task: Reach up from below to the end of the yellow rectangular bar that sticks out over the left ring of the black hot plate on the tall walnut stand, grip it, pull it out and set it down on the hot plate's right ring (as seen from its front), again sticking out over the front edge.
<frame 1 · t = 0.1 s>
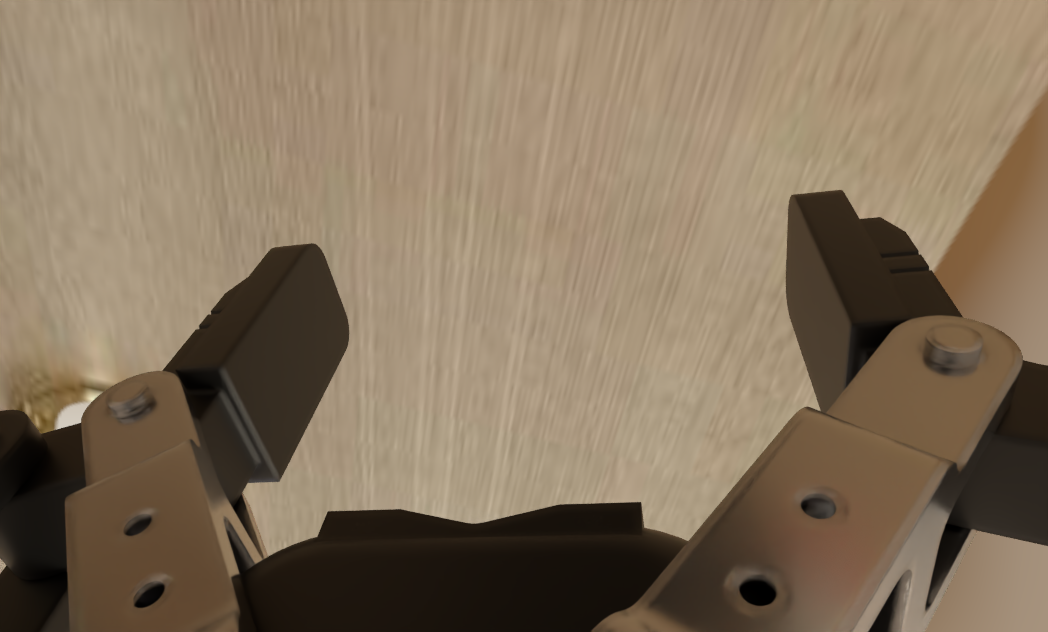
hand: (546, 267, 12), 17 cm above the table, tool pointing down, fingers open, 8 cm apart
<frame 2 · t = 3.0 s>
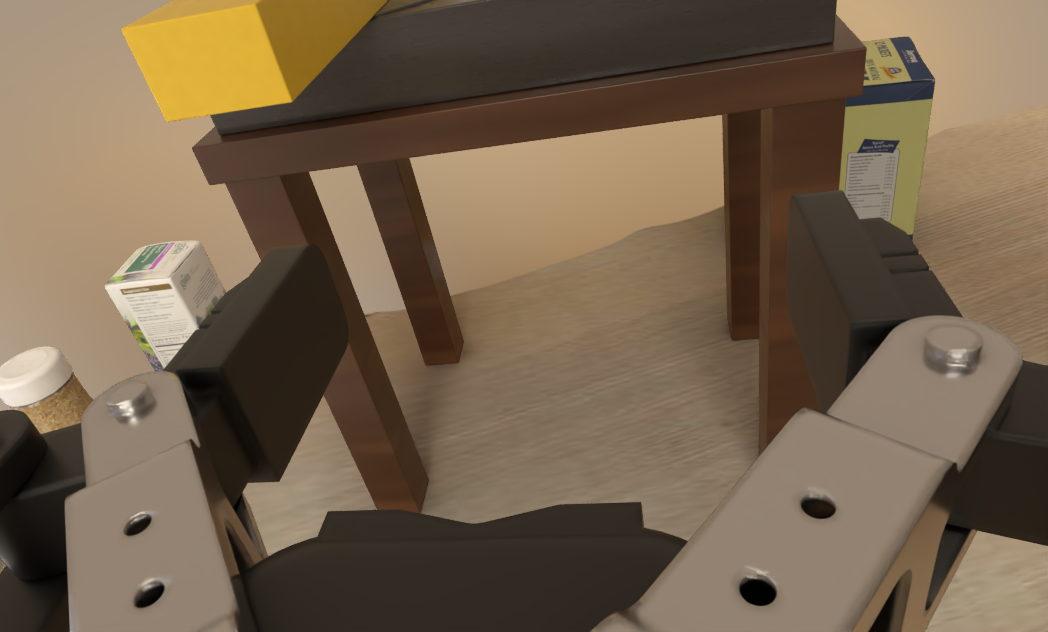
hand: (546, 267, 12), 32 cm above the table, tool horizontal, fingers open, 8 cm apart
yellow rectangular bar: (348, 3, 34), point 32 cm above the table, touching hob stand
hob stand: (588, 406, 56), on the table
sprinkles bottle: (123, 493, 58), on the table
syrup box: (228, 396, 66), on the table
protein box: (814, 226, 70), on the table
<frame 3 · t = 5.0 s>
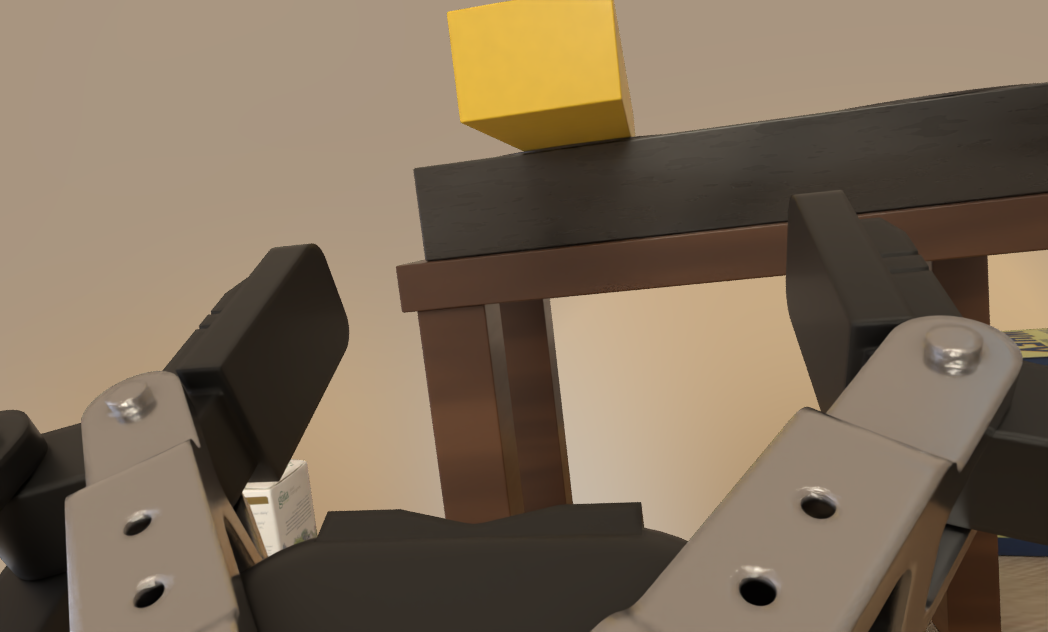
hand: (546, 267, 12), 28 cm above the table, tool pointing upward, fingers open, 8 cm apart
yellow rectangular bar: (583, 150, 33), point 32 cm above the table, touching hob stand
protein box: (998, 530, 60), on the table
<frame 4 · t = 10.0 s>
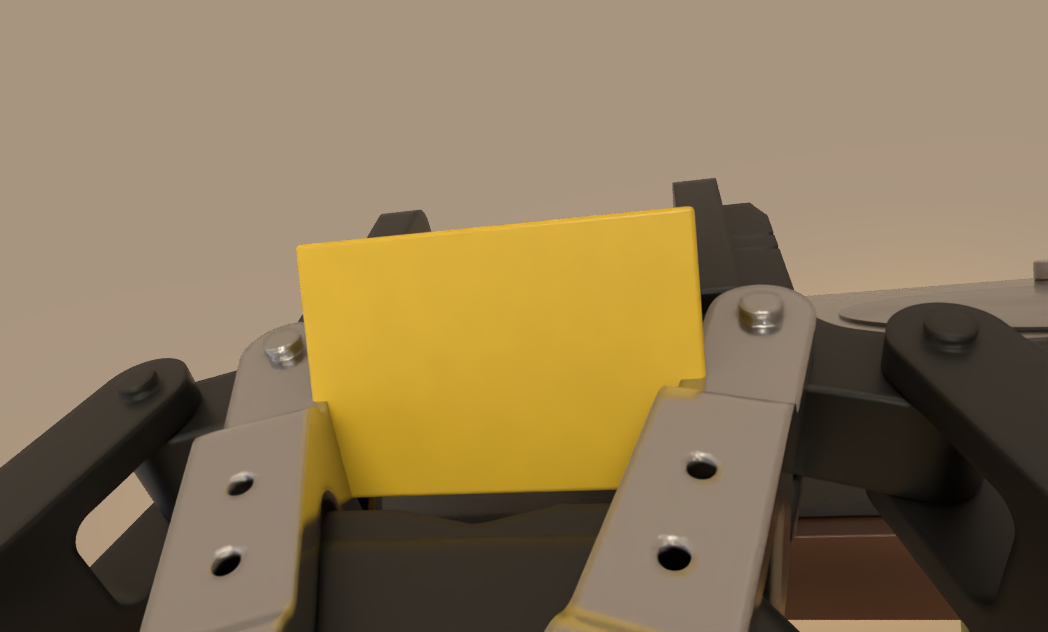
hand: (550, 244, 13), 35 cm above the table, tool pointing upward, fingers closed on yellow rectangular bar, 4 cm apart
yellow rectangular bar: (599, 344, 21), point 32 cm above the table, touching gripper, hob stand
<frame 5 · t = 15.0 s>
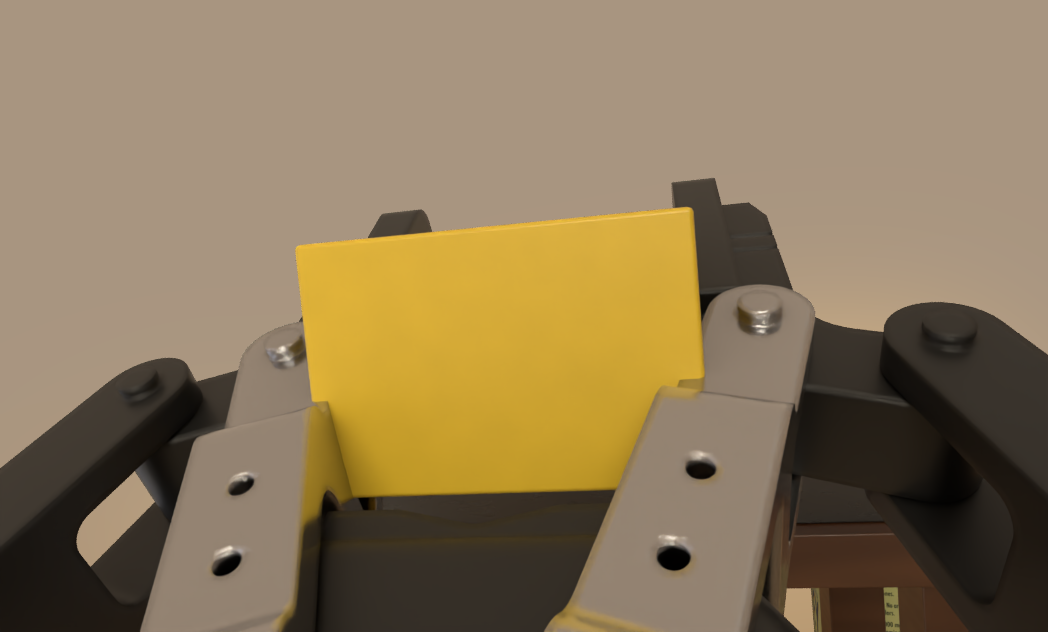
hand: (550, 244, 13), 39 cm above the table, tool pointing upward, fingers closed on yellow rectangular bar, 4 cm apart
yellow rectangular bar: (598, 344, 21), point 36 cm above the table, touching gripper
when the fingers open (35 cm above the table, at t = 20.2 s): yellow rectangular bar stays where it is, resting on hob stand.
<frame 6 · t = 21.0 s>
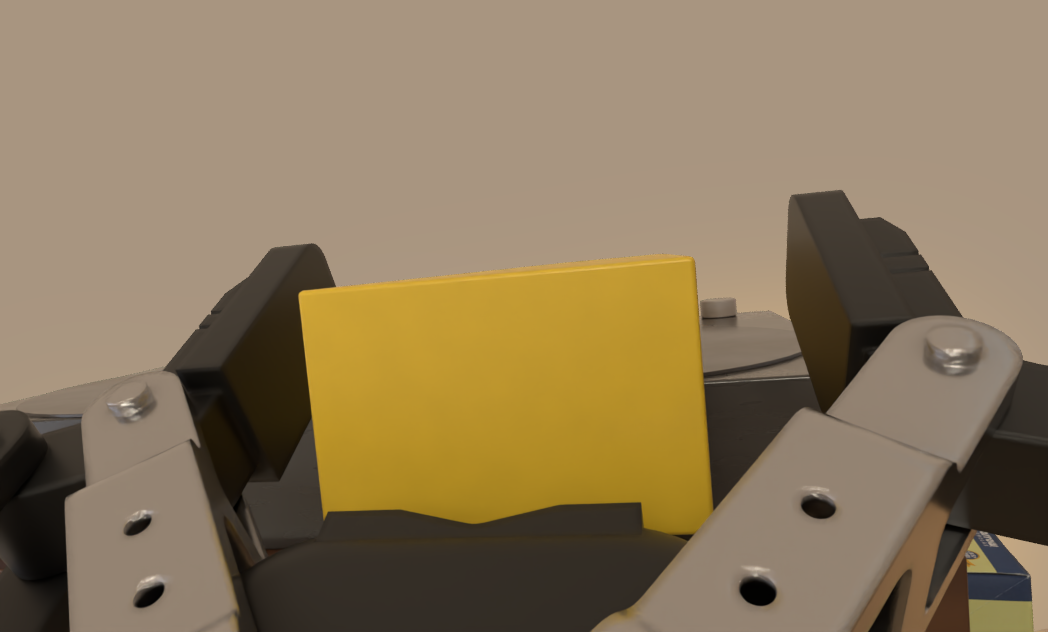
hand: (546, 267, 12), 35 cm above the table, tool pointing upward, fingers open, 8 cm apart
yellow rectangular bar: (599, 362, 21), point 32 cm above the table, touching hob stand
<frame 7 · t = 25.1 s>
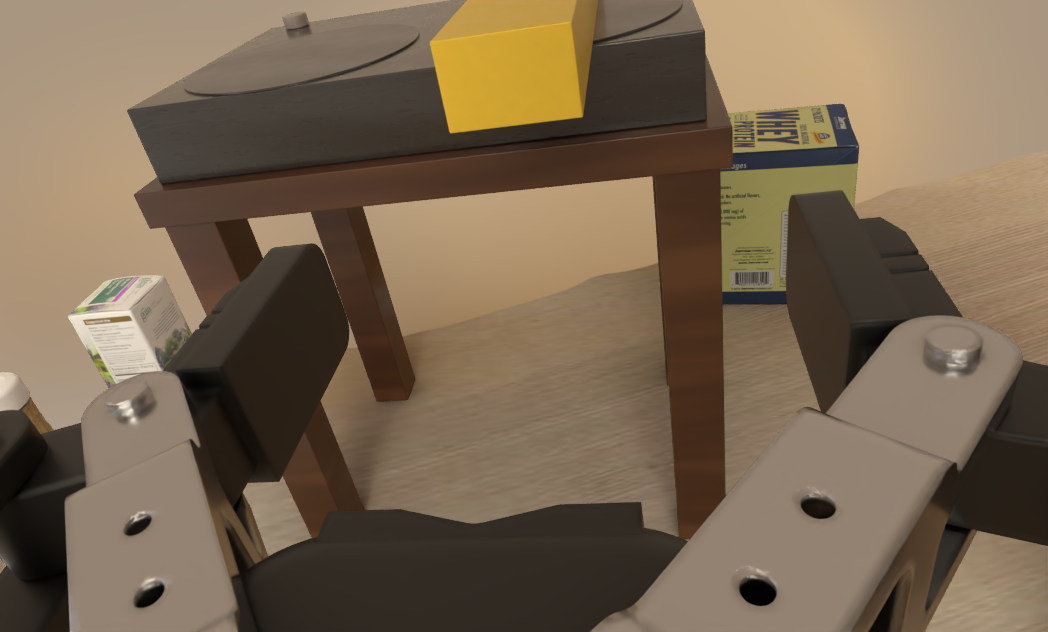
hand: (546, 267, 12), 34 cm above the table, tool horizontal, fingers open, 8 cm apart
yellow rectangular bar: (548, 31, 35), point 32 cm above the table, touching hob stand
hob stand: (525, 445, 58), on the table
sprinkles bottle: (75, 517, 60), on the table
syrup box: (186, 425, 68), on the table
protein box: (758, 278, 73), on the table
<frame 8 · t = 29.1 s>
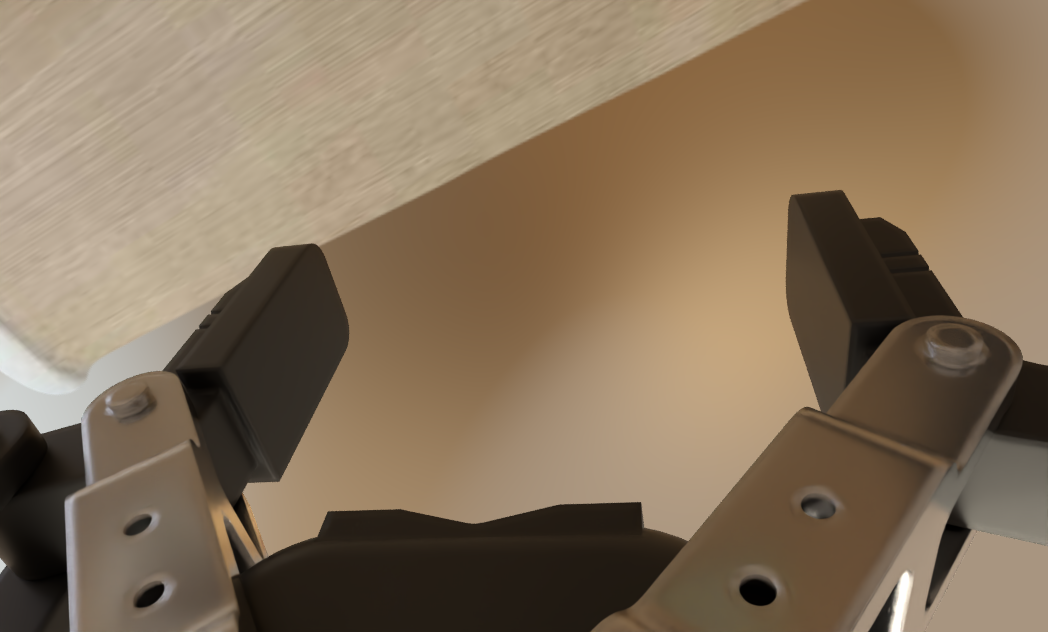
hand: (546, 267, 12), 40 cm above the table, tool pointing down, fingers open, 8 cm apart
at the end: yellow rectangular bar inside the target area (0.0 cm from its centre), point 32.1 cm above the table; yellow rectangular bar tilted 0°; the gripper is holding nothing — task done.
